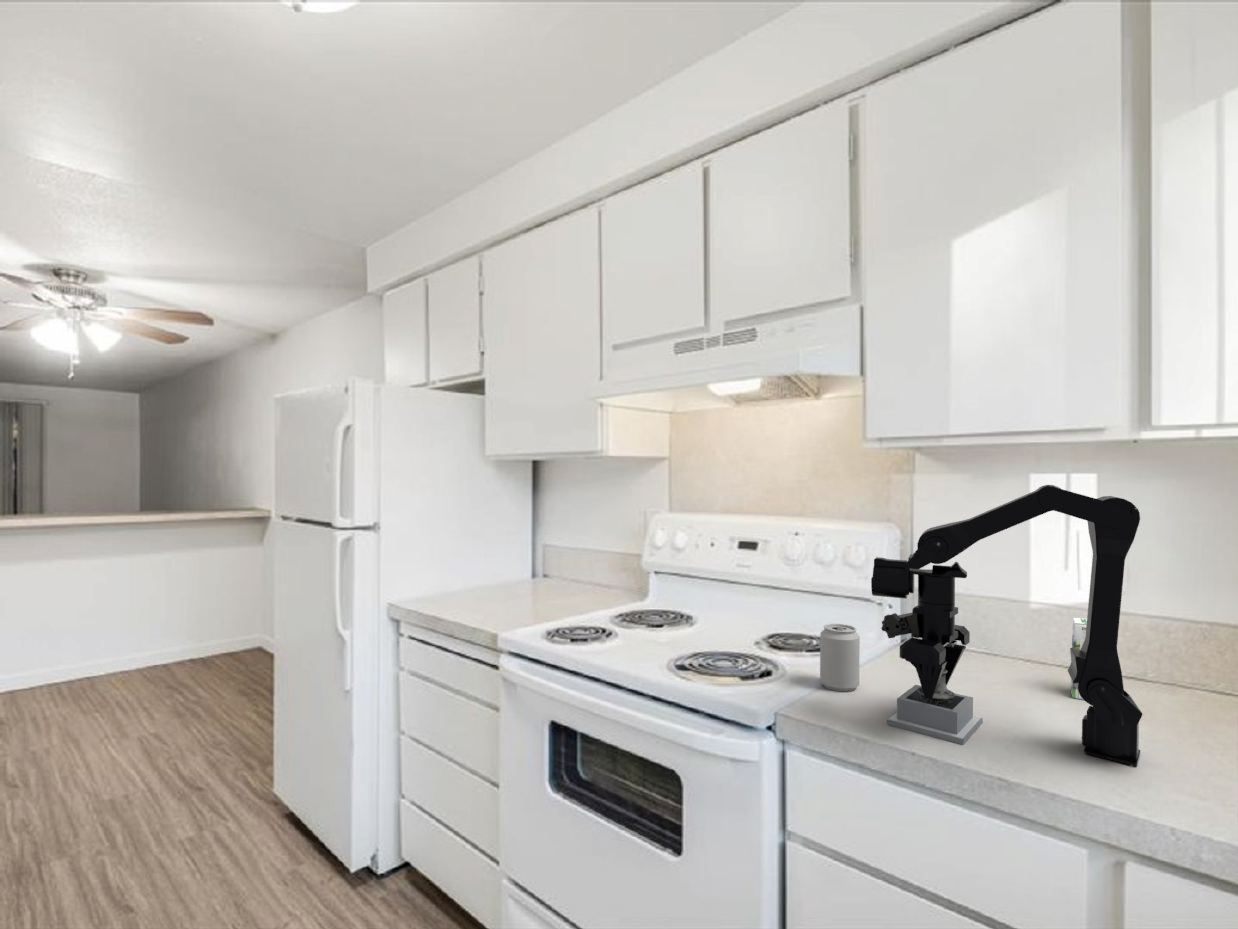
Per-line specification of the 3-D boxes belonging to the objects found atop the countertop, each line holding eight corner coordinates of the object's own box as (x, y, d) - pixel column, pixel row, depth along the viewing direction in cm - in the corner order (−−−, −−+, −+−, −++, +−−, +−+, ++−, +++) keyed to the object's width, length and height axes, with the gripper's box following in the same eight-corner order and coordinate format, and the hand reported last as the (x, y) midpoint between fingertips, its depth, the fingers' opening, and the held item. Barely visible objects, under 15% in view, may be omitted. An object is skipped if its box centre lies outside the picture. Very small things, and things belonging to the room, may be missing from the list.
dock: (982, 722, 115) (982, 697, 114) (963, 744, 106) (963, 717, 106) (910, 705, 123) (910, 681, 122) (886, 724, 114) (887, 698, 114)
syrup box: (1070, 689, 131) (1070, 616, 131) (1106, 695, 128) (1107, 620, 128) (1072, 698, 126) (1073, 622, 126) (1110, 704, 123) (1111, 626, 123)
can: (855, 681, 136) (856, 622, 136) (862, 694, 128) (863, 632, 128) (817, 679, 137) (818, 621, 137) (822, 691, 130) (822, 630, 129)
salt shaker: (958, 712, 114) (958, 642, 114) (950, 722, 110) (950, 650, 110) (922, 704, 118) (922, 636, 118) (912, 714, 114) (913, 644, 113)
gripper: (906, 587, 126) (905, 669, 126) (868, 603, 112) (868, 695, 112) (970, 595, 119) (970, 682, 119) (938, 613, 105) (938, 712, 105)
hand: (935, 692), depth 114 cm, fingers closed on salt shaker, 7 cm apart
